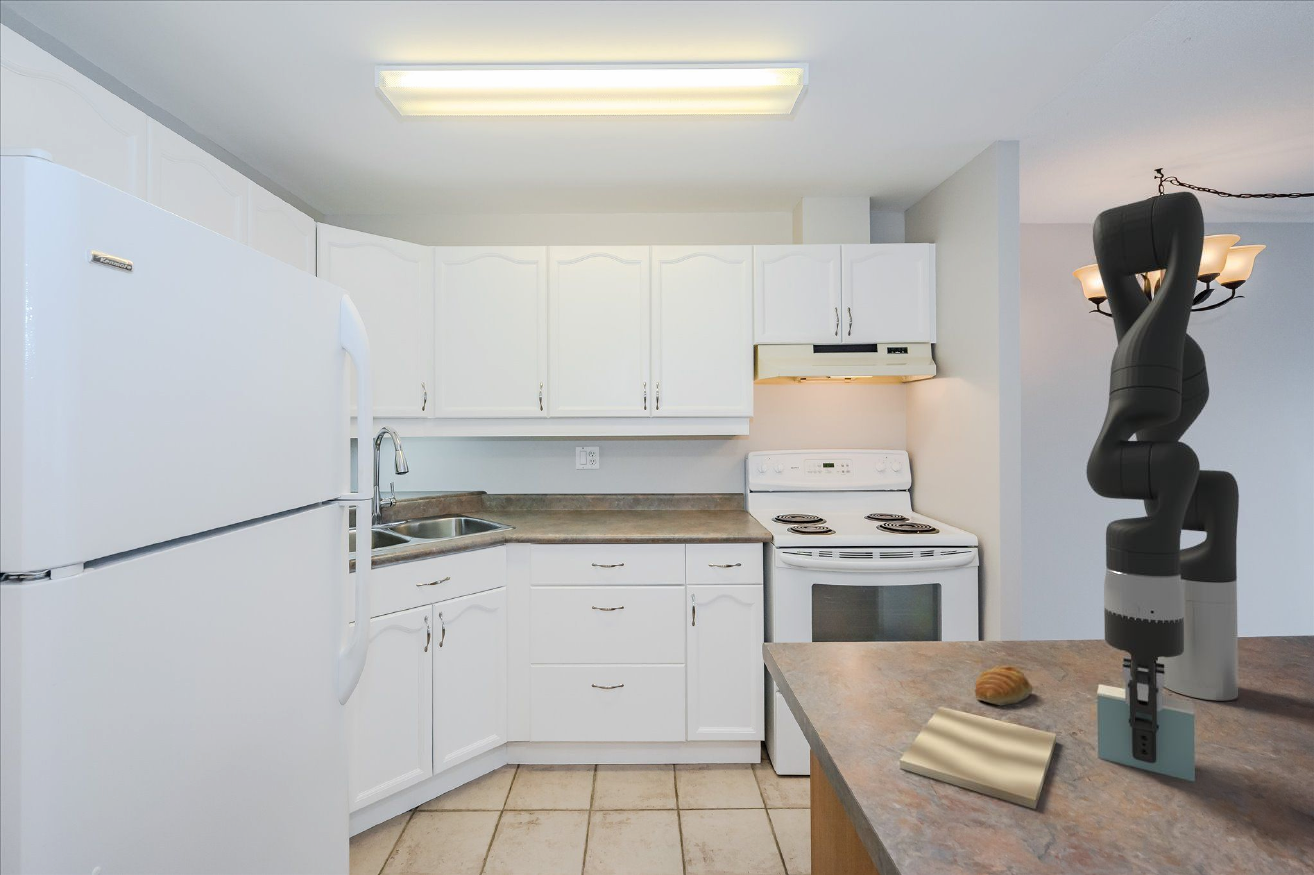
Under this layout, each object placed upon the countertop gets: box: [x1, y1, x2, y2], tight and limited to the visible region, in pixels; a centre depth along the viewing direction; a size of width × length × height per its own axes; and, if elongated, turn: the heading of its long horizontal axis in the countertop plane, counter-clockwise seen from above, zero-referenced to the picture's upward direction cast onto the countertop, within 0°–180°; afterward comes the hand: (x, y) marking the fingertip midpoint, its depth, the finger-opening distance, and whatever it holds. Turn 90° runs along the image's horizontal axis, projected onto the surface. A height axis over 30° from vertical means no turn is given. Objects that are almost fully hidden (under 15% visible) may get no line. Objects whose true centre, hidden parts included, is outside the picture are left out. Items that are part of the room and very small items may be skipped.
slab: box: [1096, 684, 1196, 783], centre depth 76 cm, size 3×9×8 cm, turn 52°
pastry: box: [974, 665, 1034, 707], centre depth 96 cm, size 9×7×4 cm
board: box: [899, 706, 1057, 810], centre depth 79 cm, size 18×14×1 cm
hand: (1144, 750), depth 76 cm, fingers open, 4 cm apart
